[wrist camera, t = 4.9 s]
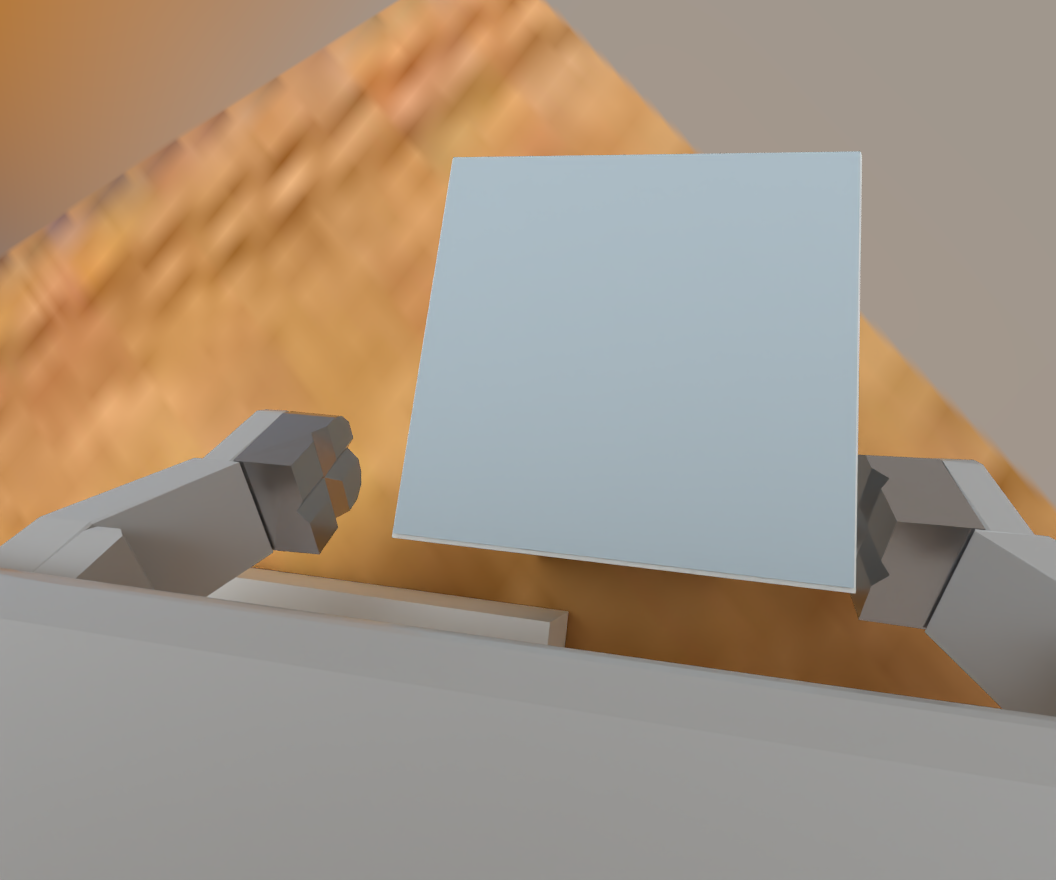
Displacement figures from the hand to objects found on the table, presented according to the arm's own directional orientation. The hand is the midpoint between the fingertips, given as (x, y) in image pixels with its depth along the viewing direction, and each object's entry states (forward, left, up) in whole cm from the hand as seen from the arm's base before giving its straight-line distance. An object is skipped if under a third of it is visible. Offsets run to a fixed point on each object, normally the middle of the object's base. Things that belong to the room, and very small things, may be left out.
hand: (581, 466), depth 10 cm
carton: (+1, -1, -7) cm, 7 cm away
